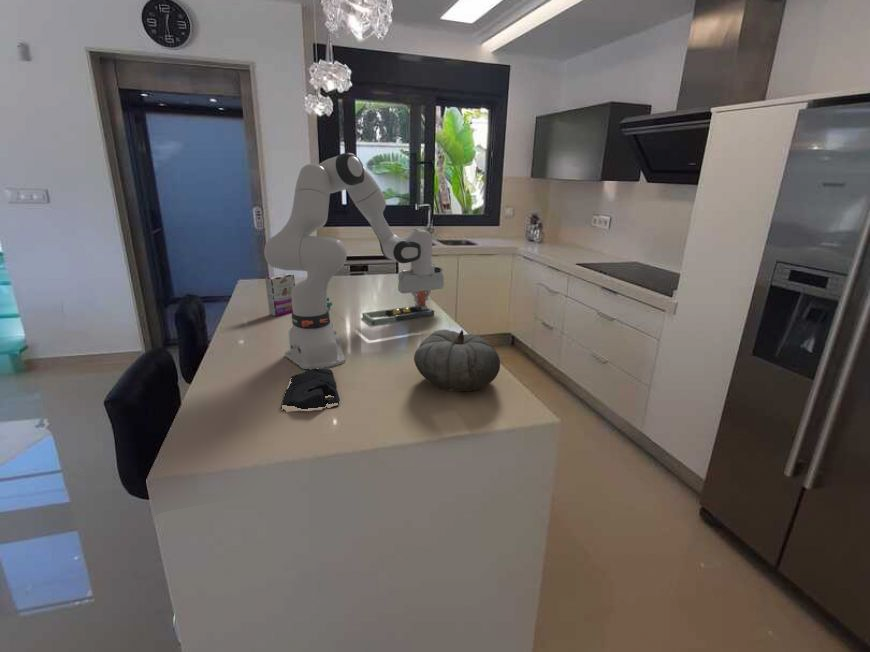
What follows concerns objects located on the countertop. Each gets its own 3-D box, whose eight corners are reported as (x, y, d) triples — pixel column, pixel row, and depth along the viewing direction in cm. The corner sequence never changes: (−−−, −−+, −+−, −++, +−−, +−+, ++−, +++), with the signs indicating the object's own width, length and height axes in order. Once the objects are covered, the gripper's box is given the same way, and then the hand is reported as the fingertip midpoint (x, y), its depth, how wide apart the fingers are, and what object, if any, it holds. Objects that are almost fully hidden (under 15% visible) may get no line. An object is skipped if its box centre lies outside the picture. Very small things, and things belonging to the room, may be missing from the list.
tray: (395, 324, 183) (395, 317, 182) (372, 327, 178) (372, 320, 177) (385, 316, 192) (384, 309, 191) (362, 319, 187) (362, 312, 187)
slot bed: (434, 317, 192) (434, 310, 191) (395, 323, 183) (395, 316, 182) (423, 311, 200) (423, 304, 199) (385, 316, 192) (385, 310, 191)
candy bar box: (290, 308, 200) (287, 272, 195) (298, 311, 198) (294, 274, 192) (268, 314, 192) (264, 276, 187) (275, 317, 189) (271, 278, 184)
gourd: (423, 400, 117) (428, 334, 115) (403, 375, 141) (406, 320, 139) (511, 398, 125) (517, 336, 122) (477, 375, 148) (482, 323, 146)
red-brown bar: (427, 311, 192) (427, 288, 189) (421, 312, 191) (421, 289, 187) (420, 307, 197) (420, 285, 193) (414, 308, 195) (414, 286, 192)
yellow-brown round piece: (412, 316, 190) (412, 308, 189) (404, 317, 188) (404, 309, 187) (408, 313, 193) (408, 305, 192) (401, 314, 191) (401, 306, 190)
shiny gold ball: (402, 317, 188) (402, 309, 187) (394, 318, 186) (394, 310, 185) (398, 315, 191) (398, 307, 190) (391, 316, 189) (391, 308, 188)
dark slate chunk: (340, 375, 138) (339, 360, 137) (339, 411, 118) (338, 394, 116) (288, 378, 136) (286, 364, 134) (278, 416, 115) (276, 399, 114)
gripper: (401, 272, 180) (402, 305, 185) (446, 268, 190) (445, 299, 194) (395, 269, 185) (395, 302, 190) (438, 265, 195) (438, 296, 200)
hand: (421, 300), depth 192 cm, fingers closed on red-brown bar, 3 cm apart
